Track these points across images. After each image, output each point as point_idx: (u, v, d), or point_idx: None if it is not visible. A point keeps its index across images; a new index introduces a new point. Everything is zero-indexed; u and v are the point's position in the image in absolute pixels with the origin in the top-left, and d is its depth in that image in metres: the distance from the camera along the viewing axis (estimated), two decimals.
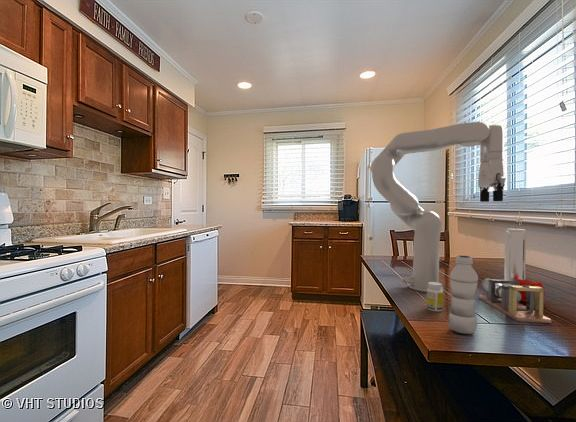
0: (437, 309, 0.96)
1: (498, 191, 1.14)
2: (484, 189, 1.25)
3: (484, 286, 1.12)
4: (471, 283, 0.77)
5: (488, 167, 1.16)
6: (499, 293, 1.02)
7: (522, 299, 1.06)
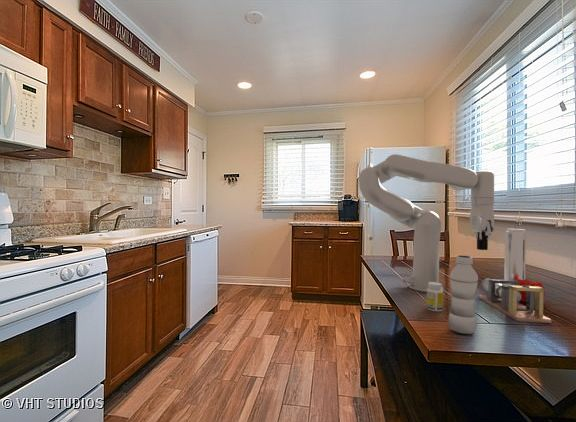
0: (437, 309, 0.96)
1: (483, 240, 1.17)
2: None
3: (484, 286, 1.12)
4: (471, 283, 0.77)
5: (479, 213, 1.16)
6: (499, 293, 1.02)
7: (522, 299, 1.06)
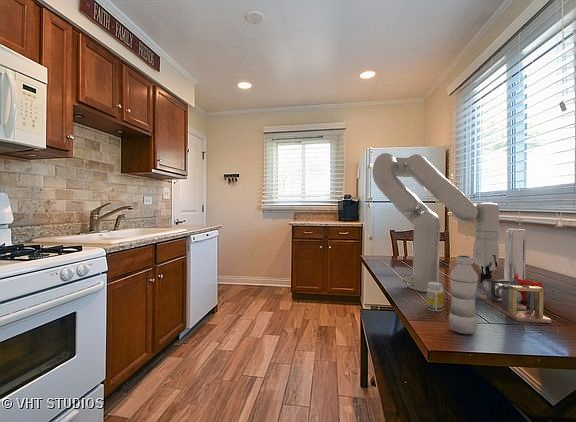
0: (437, 309, 0.96)
1: (487, 275, 1.14)
2: None
3: (484, 286, 1.12)
4: (471, 283, 0.77)
5: (483, 247, 1.12)
6: (500, 293, 1.02)
7: (522, 299, 1.06)
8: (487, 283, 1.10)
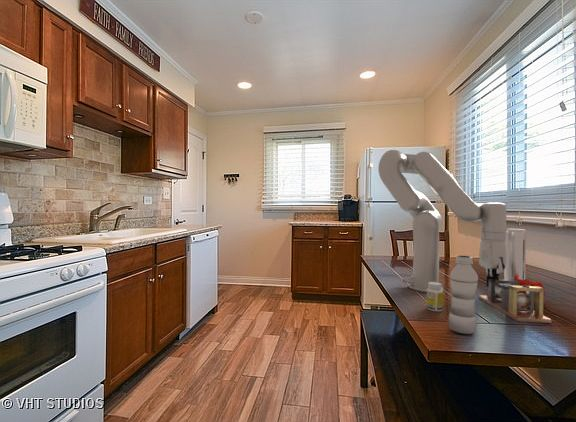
0: (437, 309, 0.96)
1: (493, 278, 1.09)
2: None
3: None
4: (471, 283, 0.77)
5: (490, 249, 1.07)
6: None
7: None
8: None
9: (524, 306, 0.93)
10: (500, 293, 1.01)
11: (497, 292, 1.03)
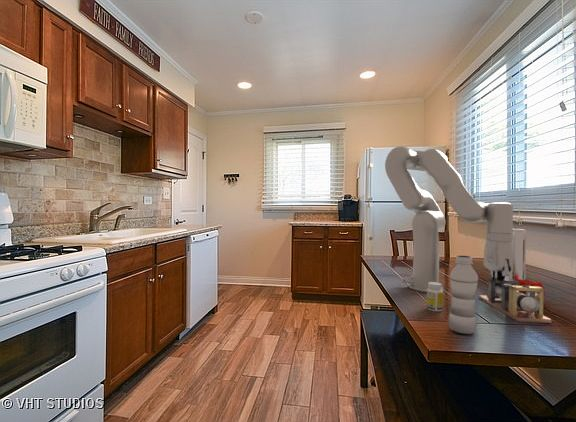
0: (437, 309, 0.96)
1: None
2: None
3: (497, 292, 1.03)
4: (471, 283, 0.77)
5: (496, 250, 1.04)
6: None
7: None
8: (500, 289, 1.02)
9: (531, 310, 0.89)
10: None
11: None
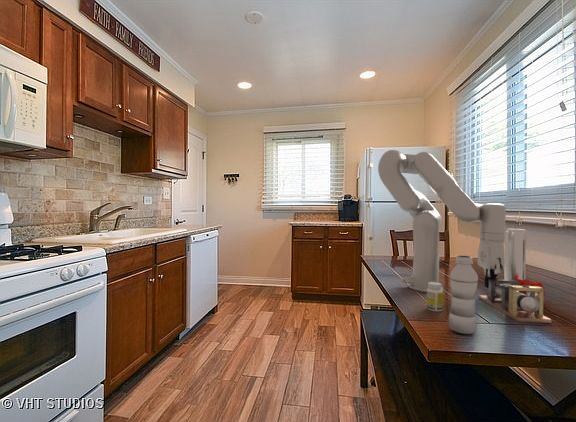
0: (437, 309, 0.96)
1: (491, 278, 1.10)
2: None
3: (497, 292, 1.03)
4: (471, 283, 0.77)
5: (488, 249, 1.08)
6: None
7: None
8: (500, 289, 1.02)
9: (531, 310, 0.89)
10: None
11: None
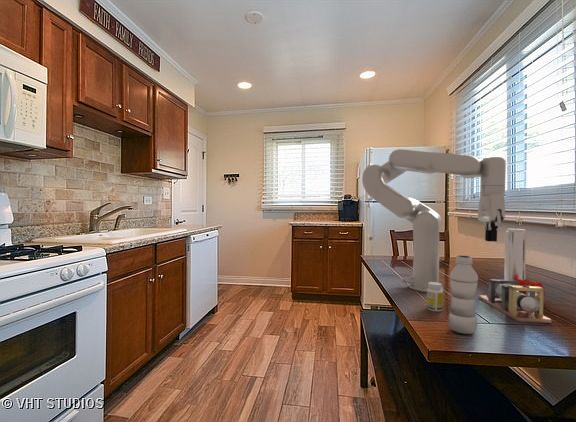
0: (437, 309, 0.96)
1: (492, 231, 1.10)
2: None
3: (497, 292, 1.03)
4: (471, 283, 0.77)
5: (489, 202, 1.08)
6: None
7: None
8: (500, 289, 1.02)
9: (531, 310, 0.89)
10: None
11: None
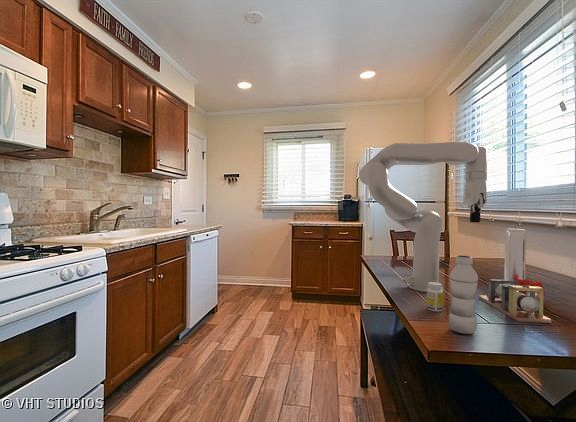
0: (437, 309, 0.96)
1: (476, 213, 1.23)
2: None
3: (497, 292, 1.03)
4: (471, 283, 0.77)
5: (472, 186, 1.21)
6: None
7: None
8: (500, 289, 1.02)
9: (531, 310, 0.89)
10: None
11: None
